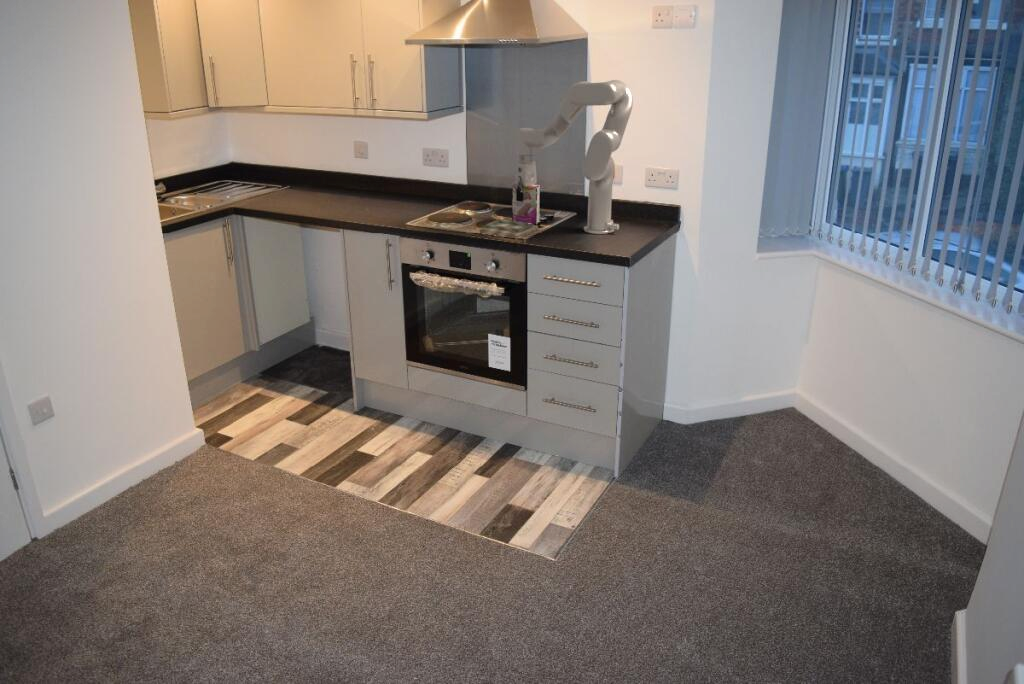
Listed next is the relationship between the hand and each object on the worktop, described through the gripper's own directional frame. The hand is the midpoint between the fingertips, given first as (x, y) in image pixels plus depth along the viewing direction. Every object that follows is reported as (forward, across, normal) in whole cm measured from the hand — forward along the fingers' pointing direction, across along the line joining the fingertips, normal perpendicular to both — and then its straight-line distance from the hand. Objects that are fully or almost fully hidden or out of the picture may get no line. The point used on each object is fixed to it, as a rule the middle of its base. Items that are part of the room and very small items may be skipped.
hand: (525, 199), depth 349 cm
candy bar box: (+11, 0, 0) cm, 11 cm away
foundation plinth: (+10, -17, -2) cm, 20 cm away
